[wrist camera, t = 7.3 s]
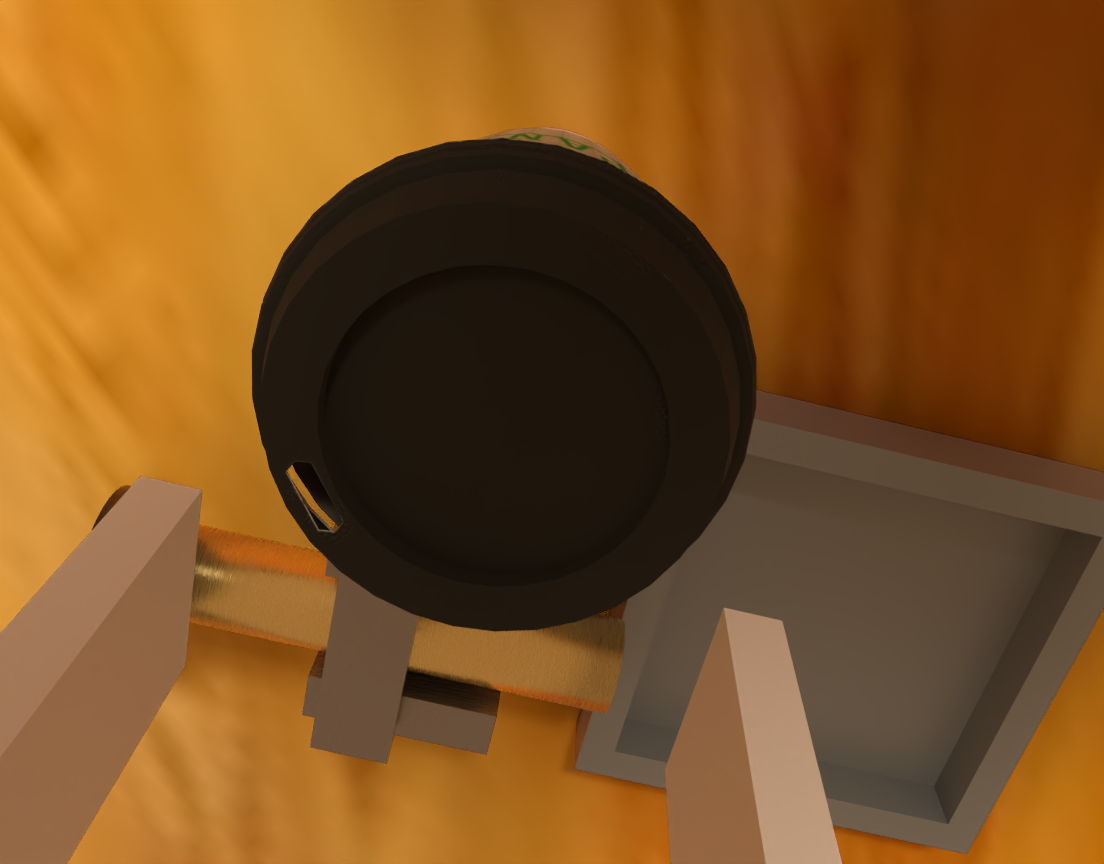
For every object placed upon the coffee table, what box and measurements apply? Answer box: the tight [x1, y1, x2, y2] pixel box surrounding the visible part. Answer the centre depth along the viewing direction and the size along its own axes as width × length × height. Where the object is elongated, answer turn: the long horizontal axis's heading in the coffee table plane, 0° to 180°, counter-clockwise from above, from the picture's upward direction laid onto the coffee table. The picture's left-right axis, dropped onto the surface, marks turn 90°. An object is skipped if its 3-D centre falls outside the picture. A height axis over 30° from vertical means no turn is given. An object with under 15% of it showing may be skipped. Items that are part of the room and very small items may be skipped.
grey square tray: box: [574, 390, 1104, 854], centre depth 36 cm, size 15×15×2 cm
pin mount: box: [302, 523, 500, 764], centre depth 34 cm, size 7×6×7 cm
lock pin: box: [92, 485, 625, 714], centre depth 33 cm, size 4×16×4 cm, turn 77°
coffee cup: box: [252, 127, 756, 632], centre depth 25 cm, size 10×10×15 cm
